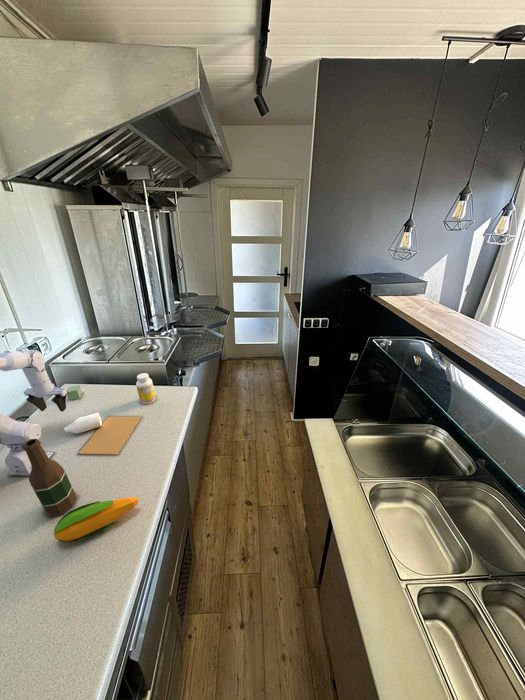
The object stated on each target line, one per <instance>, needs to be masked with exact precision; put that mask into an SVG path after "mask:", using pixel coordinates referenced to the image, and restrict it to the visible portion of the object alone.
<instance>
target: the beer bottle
mask: <svg viewBox="0 0 525 700" xmlns="http://www.w3.org/2000/svg"><path fill="white" fill-rule="evenodd" d="M40 444H41V445H42V441H41V440H40V439H39V440H38V439H37V438H36V439H31V440H29V441H27V442H25V443H24V445H23V449H24V450H25V451H26V453H27V455H28V458H29V460H30V463H31V467H32V470H31V472H30V475H28V481H29V484H30V486H31V488H32V490H33V491H34V493H35V495H36V498H37V499H38V501H39V503H40V504H41V506H42V508H43V510H44V511H45V512H46V514H48V515H49V517H55V516H60V515H63V514H64V513H66V512H67V511H69V510H70V509H71V508H72V507H73V506H74V503H75V501H76V499H77V495H76V493H75V490H74V488H73V486H72V483H71V481H70V479H69V477H68V474H67V473H66V471H65V468H64V467H63V466H62V465H60V464H59V463H58V462H57V461H56V460H55V459H51V458H48V456H47V455H46V453H45V452H46V451H45V449H44V447H43V445H42V446H41V445H40ZM42 447H43V448H42ZM43 449H44V450H43Z"/></svg>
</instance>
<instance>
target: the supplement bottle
mask: <svg viewBox="0 0 525 700" xmlns="http://www.w3.org/2000/svg"><path fill="white" fill-rule="evenodd" d="M136 380H137V381H136V383H135V386H136V390H137V395H138V398H139V402H140V403H141V404H143V405H148V404H151V403H153V402H154V401H155V400H156V397H157V396H156V393H155V388H154V383H153V380H152V378H150V376H149V373H147V372H142V373H139V374H137V376H136Z"/></svg>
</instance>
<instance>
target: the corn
mask: <svg viewBox="0 0 525 700" xmlns="http://www.w3.org/2000/svg"><path fill="white" fill-rule="evenodd" d="M138 504H139V498H138V497H135V496H130V497H124V498H117V499H111V500H104V501H101V500H99V501H95V502H90V503H86V504H83V505H80V506H78V507H76V508H74V509H71V510H69V512H67V513H66V514H64V515H63V516H62V517H61V518H60V519H59V521H58V522H57V523H56V525H55V527H54V530H53V536H54V538H55V539H56V540H57V541H59V542H62V543H63V542H64V543H71V542H74V541H79V540H82V539H85V538H87V537H89V536H93V535H94V534H96V533H99V532H101V531H103V530H105V529H107V528H109V527H111V526H113V525H115V524H116V522H115V521H117V520H119V519H120V518H121V517H123V516H125V515H126V514H127V513H129V512H130V511H131V510H133V509H134V508H136V506H137V505H138Z"/></svg>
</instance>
